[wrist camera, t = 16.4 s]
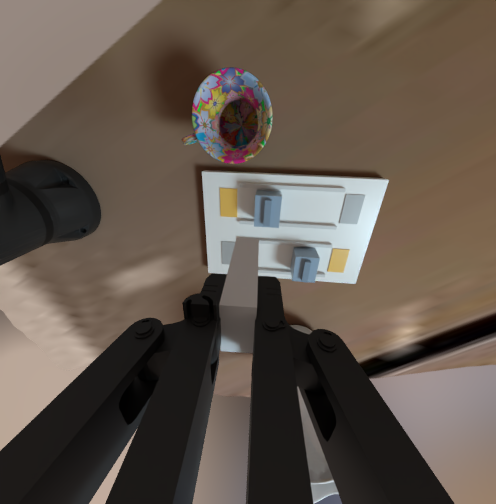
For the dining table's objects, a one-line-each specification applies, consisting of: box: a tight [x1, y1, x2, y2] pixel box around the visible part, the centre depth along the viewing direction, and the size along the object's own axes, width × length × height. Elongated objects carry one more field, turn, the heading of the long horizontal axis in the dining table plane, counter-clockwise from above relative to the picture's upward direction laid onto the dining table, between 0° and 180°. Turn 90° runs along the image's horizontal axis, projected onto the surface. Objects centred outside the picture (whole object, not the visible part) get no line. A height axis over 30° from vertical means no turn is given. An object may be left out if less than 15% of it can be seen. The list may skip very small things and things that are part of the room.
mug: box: [182, 67, 272, 164], centre depth 29 cm, size 12×9×11 cm
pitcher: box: [290, 325, 339, 504], centre depth 43 cm, size 24×17×28 cm
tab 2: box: [290, 247, 320, 283], centre depth 38 cm, size 4×5×5 cm
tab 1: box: [254, 190, 282, 228], centre depth 34 cm, size 4×5×5 cm
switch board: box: [202, 170, 389, 284], centre depth 39 cm, size 30×20×3 cm, turn 88°
